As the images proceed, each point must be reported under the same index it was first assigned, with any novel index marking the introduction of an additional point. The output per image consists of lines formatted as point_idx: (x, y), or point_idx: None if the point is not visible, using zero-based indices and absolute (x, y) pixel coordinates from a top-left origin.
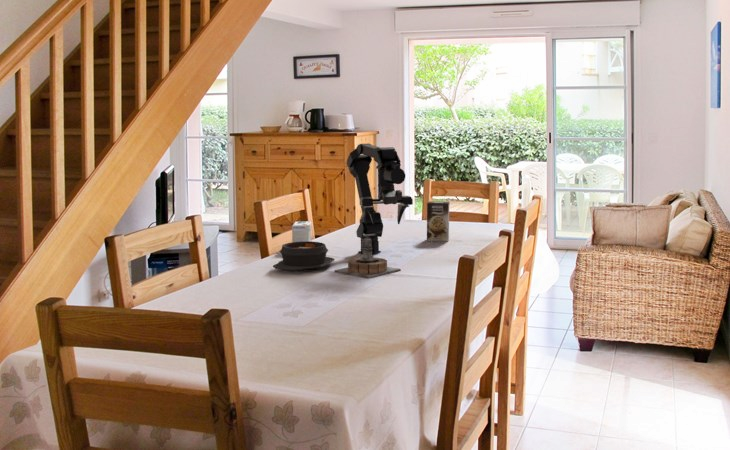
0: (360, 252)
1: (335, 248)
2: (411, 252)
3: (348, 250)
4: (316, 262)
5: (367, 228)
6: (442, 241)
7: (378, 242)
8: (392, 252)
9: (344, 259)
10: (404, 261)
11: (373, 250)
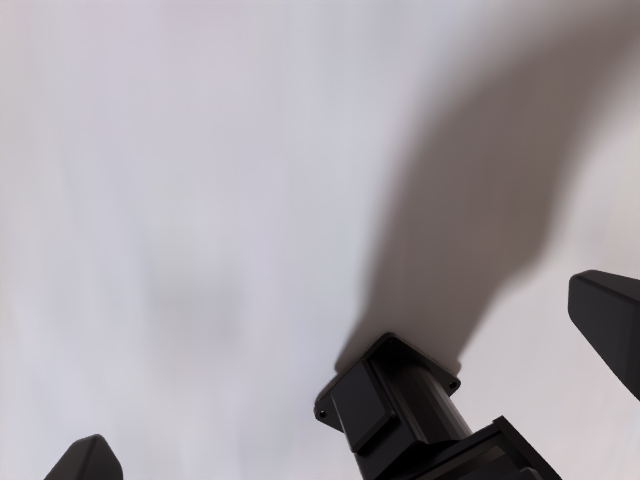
0: (446, 370)
1: None
2: None
3: None
4: None
5: (520, 475)
6: None
7: (350, 440)
8: (232, 424)
9: (571, 166)
10: (80, 76)
11: (371, 367)
